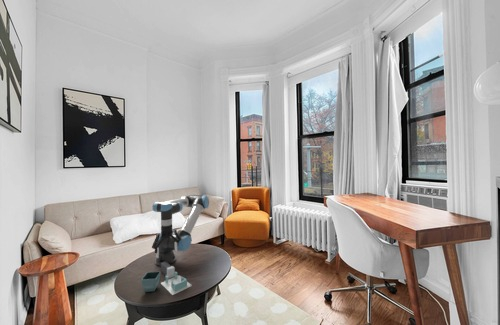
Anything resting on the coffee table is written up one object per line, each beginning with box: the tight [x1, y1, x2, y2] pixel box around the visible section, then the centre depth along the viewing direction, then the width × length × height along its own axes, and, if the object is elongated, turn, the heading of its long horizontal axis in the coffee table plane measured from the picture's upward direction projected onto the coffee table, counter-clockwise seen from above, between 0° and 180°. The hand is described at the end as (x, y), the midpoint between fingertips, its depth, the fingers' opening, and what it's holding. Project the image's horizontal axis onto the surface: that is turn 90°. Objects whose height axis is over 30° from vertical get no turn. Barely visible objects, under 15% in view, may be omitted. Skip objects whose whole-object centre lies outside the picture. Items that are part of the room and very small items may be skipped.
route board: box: [160, 271, 193, 296], centre depth 135 cm, size 17×13×4 cm
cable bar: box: [160, 261, 176, 279], centre depth 149 cm, size 14×4×6 cm, turn 46°
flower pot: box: [140, 271, 162, 293], centre depth 131 cm, size 9×9×9 cm
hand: (167, 254), depth 149 cm, fingers open, 13 cm apart
